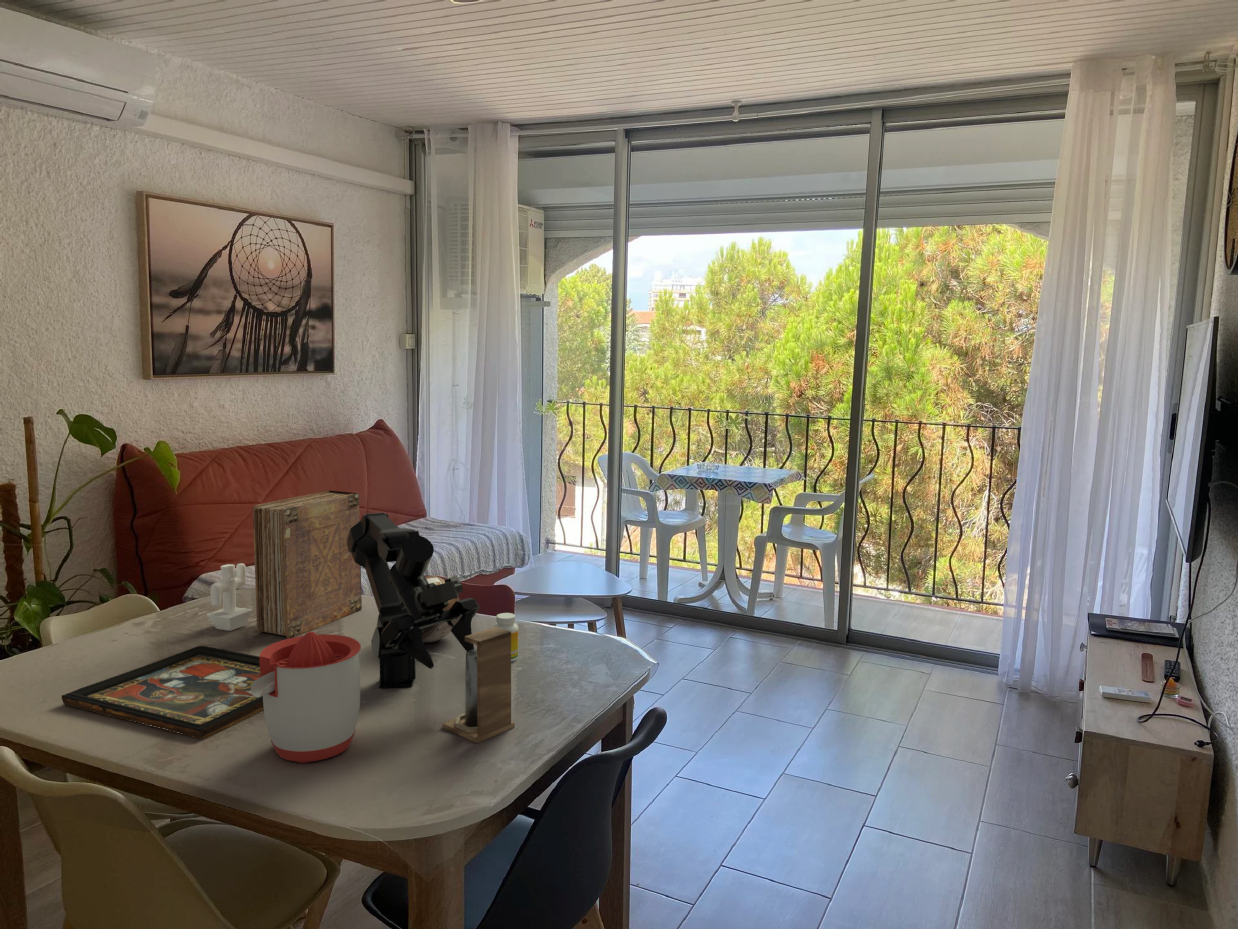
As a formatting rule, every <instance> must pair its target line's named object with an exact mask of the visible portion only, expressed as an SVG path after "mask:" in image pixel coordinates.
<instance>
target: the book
mask: <svg viewBox="0 0 1238 929" xmlns="http://www.w3.org/2000/svg"><path fill="white" fill-rule="evenodd" d="M360 521H361V519H360V494H359V493H358V492H350V491H340V490H339V491H338V490H326V491H320V492H319V491H318V492H315V493H310V494H304V495H299V496H294V497H289V498H285V499H280V500H275V501H270V502H269V501H268V502H264V503H260V504H254V505H253V506H252V524H253V525H252V527H253V529H252V530H253V532H252V533H253V550H254V551H253V554H254V556H253V557H254V559H253V560H254V579H255V580H254V581H255V582H254V583H255V586H254V587H255V605H256V606H255V609H256V610H255V611H256V615H255V616H256V633H257V634H258V635H261V634H263V633H268V634H274V635H279V636H285V637H286V639H289V638H294V637H299V636H302V635H303V634H306V633H308V632H310V631H311V632H312V630H315V629H317V628H318V629H319V628H320V627H322V626H325V625H328V624H330V623H332V622H334V621H337V620H340V619H342V618H344V617H347V616H350V615H352V614H354V613H358V612H359V611H361V610H362V607H363V605H362V604H363V601H362V599H363V598H362V568H361V567H362V566H360V565H358V564H357V563H355V562H354V559H353V557H352V554H351V553H349V551H348V546H347V539H348V535H349V531H350V529H351V528H352V527H353V526H354V525H356V524H357V523H358V522H360Z"/></svg>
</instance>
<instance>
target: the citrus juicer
mask: <svg viewBox="0 0 1238 929" xmlns="http://www.w3.org/2000/svg"><path fill="white" fill-rule="evenodd" d="M361 647H362V646H361V643H360V642H359V641H358V640H357V639H355V638H353V637H349V636H345V635H339V634H327V633H326V634H325V633H323V634H322V633H321V634H319V633H318V634H317V633H316V632H314V631H312V630H311V631H308V632H306V633H304V635H298V636H296V637H293V638H289V639H287V638H285V639H283V640H279V641H276V642H273V643H271V644H269V645H268V646H266V647H264V648H263V649H262V650H261V652H260V654H259V660H260V678H258V679H257V680H255V681H254V682H253V684H252V686H251V693H252V695H253V696H254V697H257V698H259V697H261V696H263V707H264V710H263V713H264V720H265V723H266V728H267V731H268V734H269V737H270V741H271V744H272V746H273V748H274V750H275V752H276V753H277V755H278V756H279V757H280V758H282V759H284V760H287V761H291V762H298V763H300V764H306V763H309V762H317V761H321V760H326V759H329V758H332V757H335V756H337V755H339V754H341V753H343V752H344V751H346V750H347V749H348V748H349V747H350V745H351V743H352V740H353V738H354V736H355V734H356V727H357V724H358V721H359V715H360V709H361V708H360V707H361V706H360V705H361V679H360V678H361V676H360V672H361V671H360V668H361V667H360V651H361Z"/></svg>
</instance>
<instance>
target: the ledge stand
mask: <svg viewBox="0 0 1238 929" xmlns="http://www.w3.org/2000/svg"><path fill="white" fill-rule="evenodd" d="M465 641H466V642H469V643H472V644H473V645H475V646H476V649H477V722H478V727H471V726H468V725H466V724H465V712H464V713H461V714H459V715H457V716H456V717H455V718H452V719H450V720H447V721H445V722H442V724H441V726H442V729H444V730H447V731H449V732H451V733H454V734H455V735H458V736H460V737H463V738H465V739H466V740H469V741H471V742H473V743H475V744H479V743H481V742H484V741H485V740H488V739H490V738H493V737H495V736H497V735H499V734H501V733H504V732H507V731H508V730H510V729H513V728H515V726H516V725H515V724H516V723H515V722H513V721H512V662H511V631H507V630H504V629H501V628H498V627H494V626H493V627H491V628H487V629H484V630H482V631H481V630H480V631H477V632H474V633H472V634H471V635H468V636H465Z"/></svg>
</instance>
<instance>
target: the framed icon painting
mask: <svg viewBox="0 0 1238 929" xmlns="http://www.w3.org/2000/svg"><path fill="white" fill-rule="evenodd" d="M259 656H260V655H259ZM259 656H258V655H253V654H249V653H244V652H238V651H232V650H228V649H224V648H216V647H214V646H213V647H212V646H206V645H198V646H195V647H192V648H190V649H187V650H184V651H182V652H179V653H176V654H173V655H170V656H167V657H164V658H162V659H160V660H157V661H154V662H151V663H149V664H145V665H144V666H140V667H137V668H135V669H132V670H130V671H126V672H122V673H121V674H118V675H115V676H112V677H109V678H107V679H104V680H101V681H97V682H96V683H91V684H89V685H86V686H83V687H80V688H78V689H75V690H73V691H70V692H67V693H64V694H62V695H61V701H62V703H63V704H64V705H66V706H69V707H72V708H76V707H77V708H78V709H80V708H82V709H81V710H84V709H86V710H85V711H88V710H90V711H89V712H92V711H95V712H98V713H97V714H99V713H102V714H101V715H103V714H106V715H105V716H107V715H110V716H109V717H111V716H114V717H113V718H115V717H116V719H118V718H120V719H119V720H122V719H125V720H124V721H127V720H131V721H130V722H132V721H136V722H135V723H137V722H140V723H144V724H147V725H152V726H156V727H160V728H165V729H168V730H171V731H175V732H179V733H182V734H185V735H184V736H186V735H189V736H188V737H191V736H193V737H192V738H195V737H196V739H198V738H201V739H200V740H204V738H205V739H207V738H210V737H211V736H213V734H214V735H215V733H216V734H217V732H218V733H220V732H222V731H224V730H226V729H228V728H231V727H232V725H233V726H234V725H237V724H239V723H241V722H243V721H245V720H246V719H249V718H251V717H253V716H255V715H257V714H260V713H261V712H264V707H263V696H261V697H259V698H257V697H254V696H253V695H252V693H251V686H252V684H253V682H254V681H255V680H257V679H258V678H260V660H259ZM95 712H94V713H95ZM140 723H139V724H140ZM147 725H146V726H147ZM230 726H231V727H230ZM168 730H167V731H168ZM221 730H222V731H221ZM171 731H170V732H171ZM219 731H220V732H219ZM182 734H181V735H182Z"/></svg>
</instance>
